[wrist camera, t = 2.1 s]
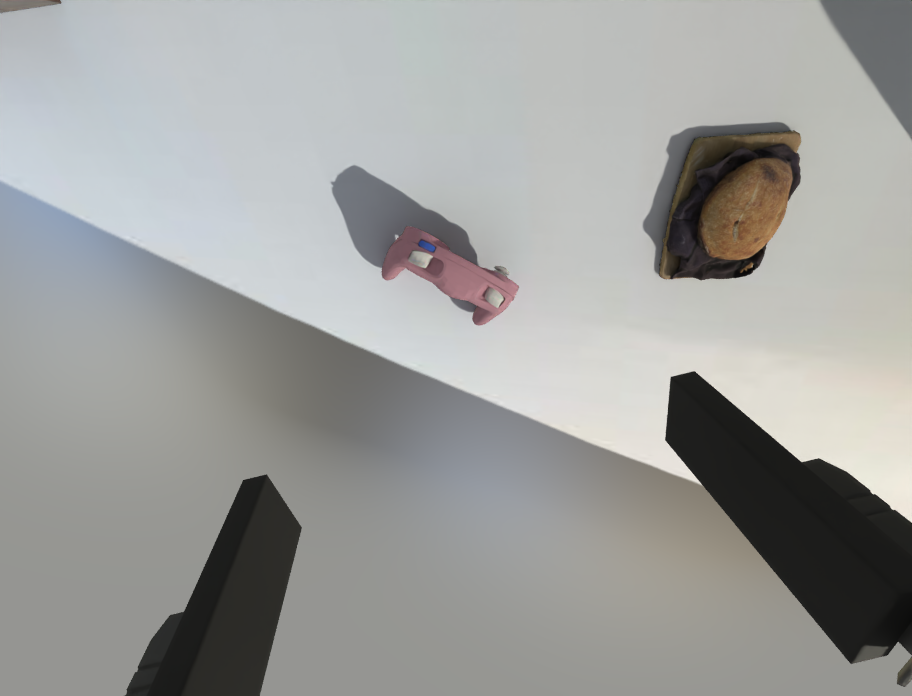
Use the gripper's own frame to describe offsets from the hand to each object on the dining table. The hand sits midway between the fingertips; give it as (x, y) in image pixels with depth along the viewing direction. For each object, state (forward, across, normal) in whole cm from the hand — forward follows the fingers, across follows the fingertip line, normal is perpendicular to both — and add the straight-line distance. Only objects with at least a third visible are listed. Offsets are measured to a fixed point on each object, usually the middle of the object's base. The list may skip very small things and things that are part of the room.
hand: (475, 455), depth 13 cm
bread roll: (+20, +22, -1) cm, 30 cm away
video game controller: (+22, +1, -1) cm, 22 cm away
